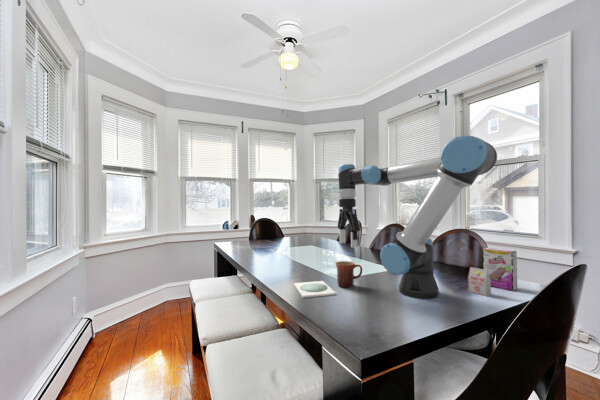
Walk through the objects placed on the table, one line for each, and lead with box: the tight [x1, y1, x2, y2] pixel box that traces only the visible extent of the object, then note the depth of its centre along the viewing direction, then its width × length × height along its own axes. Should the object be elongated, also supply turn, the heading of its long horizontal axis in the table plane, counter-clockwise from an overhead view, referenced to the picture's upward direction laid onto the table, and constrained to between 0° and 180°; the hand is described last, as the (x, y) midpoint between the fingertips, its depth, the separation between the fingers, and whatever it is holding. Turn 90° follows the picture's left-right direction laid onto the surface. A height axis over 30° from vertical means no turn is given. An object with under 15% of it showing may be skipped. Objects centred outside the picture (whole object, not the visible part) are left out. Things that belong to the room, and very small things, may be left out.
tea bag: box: [467, 266, 492, 297], centre depth 108 cm, size 4×7×10 cm, turn 28°
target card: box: [293, 280, 337, 299], centre depth 116 cm, size 18×14×1 cm
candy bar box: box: [482, 247, 518, 292], centre depth 116 cm, size 11×5×16 cm, turn 34°
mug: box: [335, 260, 363, 289], centre depth 121 cm, size 12×9×10 cm
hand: (348, 245), depth 121 cm, fingers open, 13 cm apart
